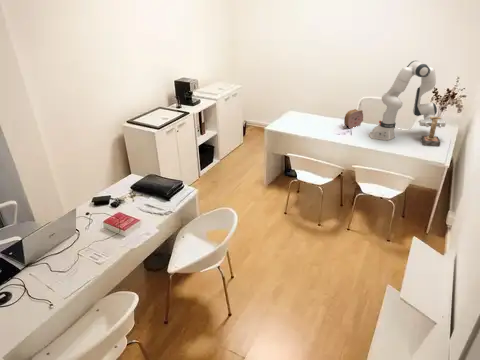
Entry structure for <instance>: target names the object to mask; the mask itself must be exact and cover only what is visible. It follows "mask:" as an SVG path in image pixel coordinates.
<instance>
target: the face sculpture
mask: <svg viewBox="0 0 480 360" xmlns="http://www.w3.org/2000/svg"><path fill="white" fill-rule="evenodd" d="M363 112H364V111H363V110H362V109H360V110H358V109H356V108H355V109H351V110H349V111H347V112H346V114H345V115H344V120H343V121H344V122H343V123H344V126H345V127H347V126H348V127H347V128H349V129H354V128H357V127H359V126H360V125H361V124H362V122H363V121H364V113H363ZM356 126H357V127H356ZM353 127H354V128H353Z"/></svg>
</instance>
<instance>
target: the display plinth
mask: <svg viewBox="0 0 480 360" xmlns="http://www.w3.org/2000/svg"><path fill="white" fill-rule="evenodd" d="M427 136H428V135H421V137H420V142H421V144H422V146H423V145H424V146H425V147H440V146H441V140H440V138H439V137H438V136H436V135H434V137H436V139H435V140H428V139H427Z"/></svg>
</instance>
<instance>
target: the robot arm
mask: <svg viewBox="0 0 480 360" xmlns="http://www.w3.org/2000/svg"><path fill="white" fill-rule="evenodd" d="M414 76H416V77H419V78H421V80H420V82H421V83H420V85H419V86H418V87H417V89H416V93H415V98H414V105H413V109H412V113H413V115H414V116H416V117H420V116H423V119H420V120H418V123H419V127H426V128H429V127H431V124H432V119H430V117H437V116H436V114H437V112H438V108H437V105H436V103H434V102H427V103H421V99H422V96H423V95H425V94H426V93H428V92H430V91H432V90H433V89H434V88H435V86H436V84H437V76H436V71H435V68H434V67H431V66H429V65H428V64H426V63H424V62H423V61H419V60H413V61H411V62H410V63H408V65H406V66H403V67H402V68H401V70H400V71H399V72H398V74H397V76H396V78H395V79H394V81H393V84H392V85H391V87H390V88H389V90H387V92H386V93H383V94H382V96H381V101H382V103H383V104H384V105H385V106H386V109H385V111H384V112H383V114H382V120H379V121H378V123H379V124H378V125H377V126H375V127H374V128H372V130H371V131H370V132H369V133H368V136H369V137H368V138H370V139H371V140H372V139H374V140H382V141H383V140H384V141H390V140H393V139H394V138H396V137H395V136H396V134H395V129H396V125H397V124H396V120H397V115H398V112H399V111H400V109H401V108H402V107H403V104H404V103H403V101H402V100H401V98H400V97H399V96H400V95H401V94H402V93H404V92H405V91H406V89H407V86H408V85H409V83H410V82H411V79H412V77H414ZM446 124H447V123H446V121H445V119H443V117H441V119H438V121H437V125H436V128H440V129H441V128H445V127H446Z"/></svg>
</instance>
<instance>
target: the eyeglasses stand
mask: <svg viewBox="0 0 480 360" xmlns="http://www.w3.org/2000/svg"><path fill="white" fill-rule="evenodd" d="M441 118H442V117H441V116H436V117H430V119H432V124H431V126H430V129H429V133H428V135H426V136H427V139H428V140H435V139H436V137H437V136H436V137H434V136H435V134H436V130H437V127H436V125H437V121H438V119H441Z"/></svg>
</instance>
